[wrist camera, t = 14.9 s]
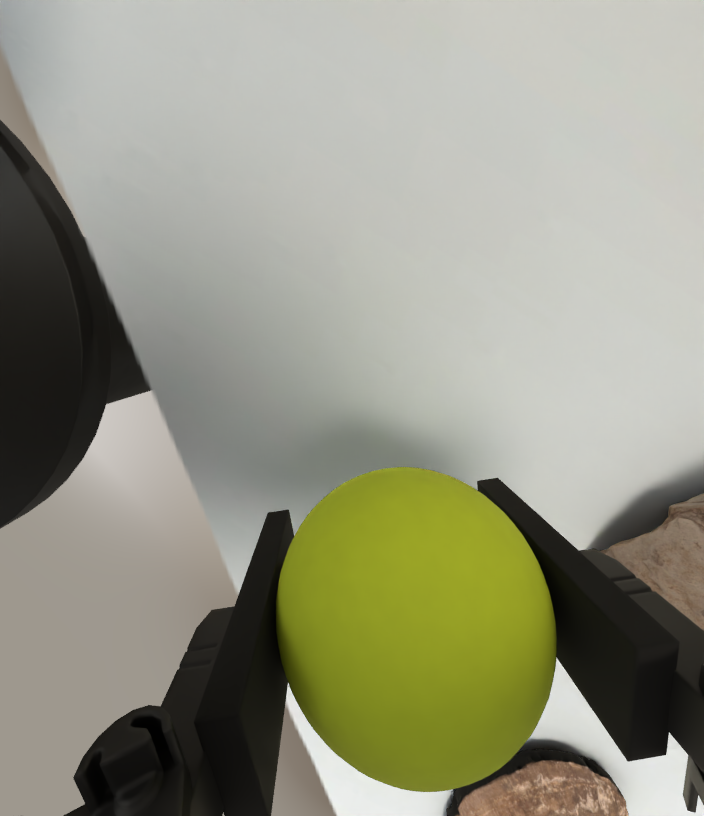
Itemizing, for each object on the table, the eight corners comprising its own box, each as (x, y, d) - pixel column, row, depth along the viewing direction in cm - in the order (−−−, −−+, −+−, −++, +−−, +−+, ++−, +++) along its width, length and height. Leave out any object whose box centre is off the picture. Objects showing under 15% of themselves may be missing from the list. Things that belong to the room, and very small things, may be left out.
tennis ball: (310, 614, 13) (283, 915, 6) (277, 450, 12) (196, 618, 5) (482, 588, 13) (636, 856, 7) (474, 422, 12) (666, 548, 5)
